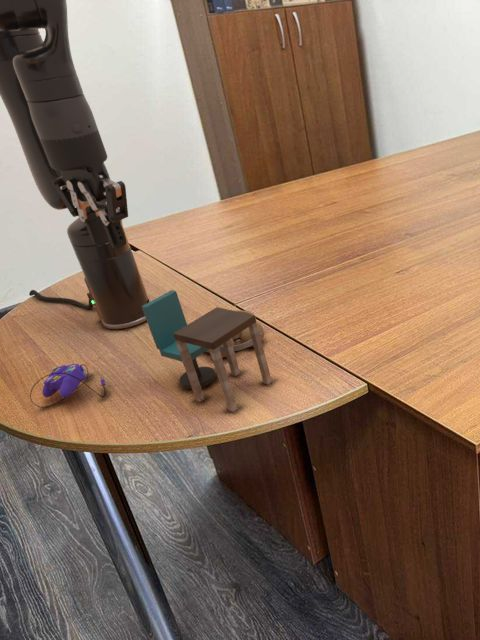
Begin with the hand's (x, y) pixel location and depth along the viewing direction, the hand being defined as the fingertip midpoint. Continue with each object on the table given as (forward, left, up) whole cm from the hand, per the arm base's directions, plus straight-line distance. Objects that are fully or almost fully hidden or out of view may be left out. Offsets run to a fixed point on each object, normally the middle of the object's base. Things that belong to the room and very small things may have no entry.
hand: (110, 243), depth 101 cm
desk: (+18, 0, -23) cm, 30 cm away
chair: (+10, 0, -23) cm, 25 cm away
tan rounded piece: (+7, +12, -23) cm, 27 cm away
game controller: (-6, -11, -23) cm, 26 cm away
